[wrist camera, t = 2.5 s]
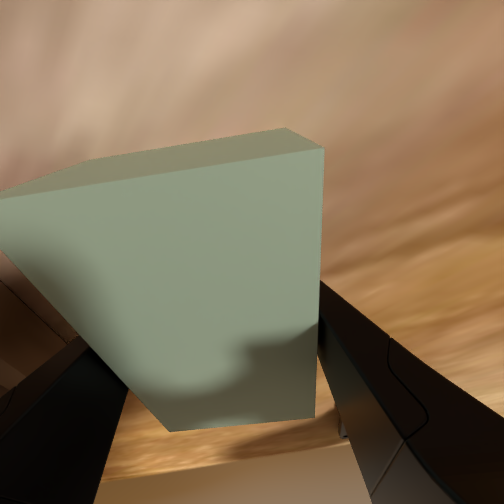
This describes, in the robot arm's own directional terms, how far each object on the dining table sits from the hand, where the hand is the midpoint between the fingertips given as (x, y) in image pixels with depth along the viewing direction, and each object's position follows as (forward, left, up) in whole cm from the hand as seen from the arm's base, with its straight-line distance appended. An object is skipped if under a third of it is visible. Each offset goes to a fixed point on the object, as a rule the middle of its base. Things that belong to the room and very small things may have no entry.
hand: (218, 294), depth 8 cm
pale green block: (0, 0, -2) cm, 2 cm away
